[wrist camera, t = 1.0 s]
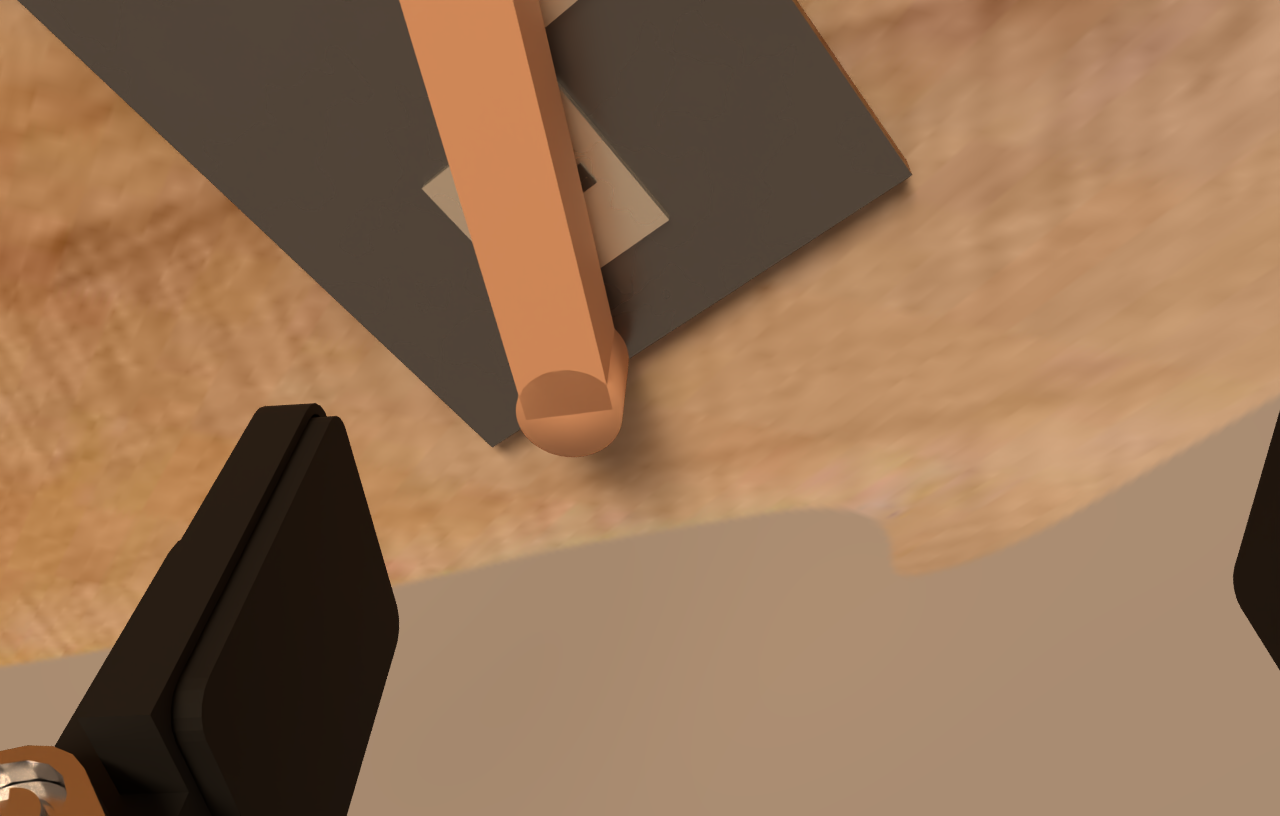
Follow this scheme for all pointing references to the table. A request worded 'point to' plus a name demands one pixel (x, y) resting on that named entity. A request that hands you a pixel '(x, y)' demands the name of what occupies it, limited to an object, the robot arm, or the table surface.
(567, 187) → the swing bar
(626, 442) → the table surface
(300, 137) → the panel
